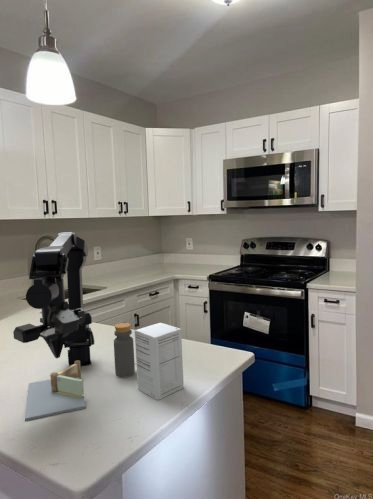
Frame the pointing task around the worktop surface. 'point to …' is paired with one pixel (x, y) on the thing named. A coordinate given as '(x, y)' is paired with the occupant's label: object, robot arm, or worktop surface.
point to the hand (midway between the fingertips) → (57, 357)
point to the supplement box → (159, 360)
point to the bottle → (124, 351)
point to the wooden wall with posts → (66, 374)
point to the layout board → (50, 401)
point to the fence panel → (70, 385)
